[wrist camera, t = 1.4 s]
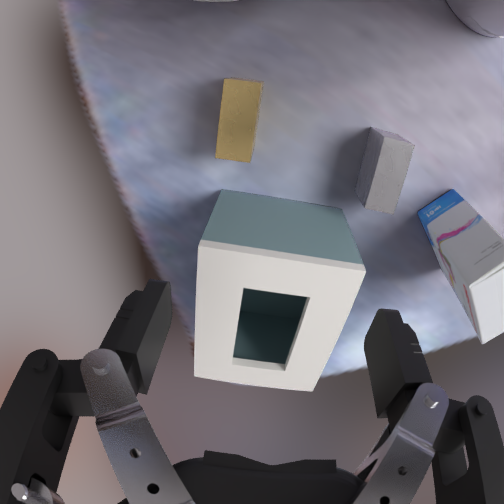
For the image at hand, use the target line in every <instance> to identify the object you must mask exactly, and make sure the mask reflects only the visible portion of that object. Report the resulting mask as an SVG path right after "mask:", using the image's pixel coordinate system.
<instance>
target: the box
mask: <svg viewBox="0 0 504 504" xmlns="http://www.w3.org/2000/svg"><path fill="white" fill-rule="evenodd" d="M365 274H366V269H365V267H364V264H363V261H362V259H361V256H360V253H359V251H358V248H357V245H356V243H355V240H354V238H353V235H352V233H351V230H350V228H349V225H348V223H347V220H346V218H345V215H344V213H343V211H342V209H339V208H333V207H328V206H322V205H317V204H311V203H306V202H300V201H294V200H288V199H282V198H276V197H270V196H263V195H257V194H250V193H244V192H237V191H230V190H223V189H222V190H221V192H220V195H219V197H218V199H217V202H216V204H215V207H214V209H213V211H212V214H211V216H210V219H209V221H208V223H207V226H206V228H205V231H204V233H203V236H202V238H201V240H200V243H199V245H198V261H197V283H196V309H195V351H194V376H196V377H202V378H207V379H214V380H219V381H226V382H232V383H239V384H247V385H254V386H262V387H271V388H280V389H291V390H302V391H313V389H314V387H315V385H316V383H317V381H318V379H319V377H320V375H321V373H322V371H323V369H324V367H325V365H326V363H327V361H328V359H329V357H330V355H331V352H332V350H333V348H334V346H335V344H336V342H337V340H338V337H339V335H340V333H341V331H342V328H343V326H344V324H345V322H346V319H347V317H348V315H349V312H350V310H351V308H352V305H353V303H354V301H355V298H356V296H357V293H358V291H359V289H360V286H361V284H362V281H363V279H364V276H365Z"/></svg>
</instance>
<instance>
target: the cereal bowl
mask: <svg viewBox="0 0 504 504" xmlns="http://www.w3.org/2000/svg"><path fill="white" fill-rule="evenodd" d="M195 1H208V2H223V1H224V2H229V1H237V0H195Z"/></svg>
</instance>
